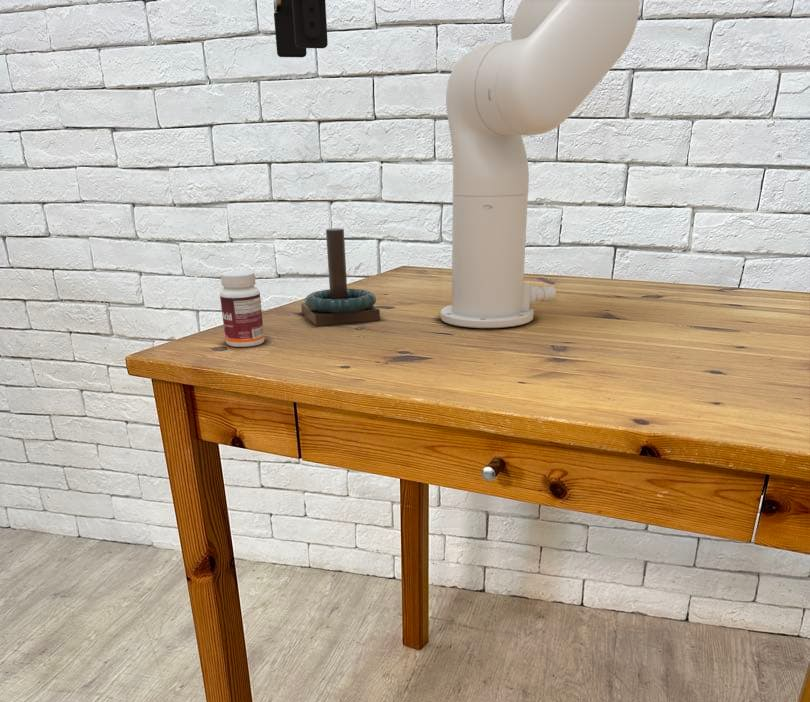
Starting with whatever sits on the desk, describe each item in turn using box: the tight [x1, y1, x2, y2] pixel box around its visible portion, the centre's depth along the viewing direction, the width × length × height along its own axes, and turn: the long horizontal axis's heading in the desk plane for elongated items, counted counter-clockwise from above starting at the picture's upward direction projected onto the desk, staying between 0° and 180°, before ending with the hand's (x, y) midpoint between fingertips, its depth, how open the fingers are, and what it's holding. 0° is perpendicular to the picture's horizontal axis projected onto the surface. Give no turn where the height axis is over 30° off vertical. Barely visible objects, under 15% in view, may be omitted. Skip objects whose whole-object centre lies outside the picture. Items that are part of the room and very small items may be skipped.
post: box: [300, 227, 381, 327], centre depth 105 cm, size 9×9×12 cm
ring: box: [304, 288, 377, 313], centre depth 106 cm, size 10×10×2 cm
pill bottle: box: [219, 269, 265, 348], centre depth 93 cm, size 5×5×8 cm
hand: (301, 52), depth 80 cm, fingers open, 9 cm apart
